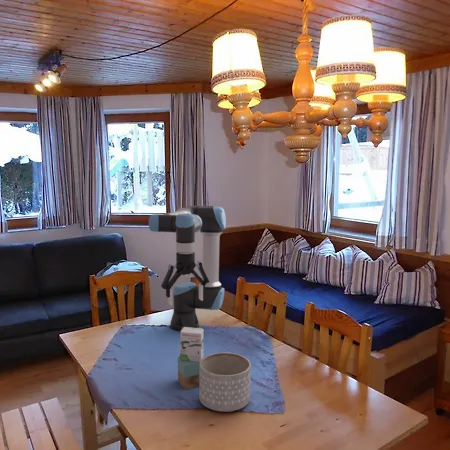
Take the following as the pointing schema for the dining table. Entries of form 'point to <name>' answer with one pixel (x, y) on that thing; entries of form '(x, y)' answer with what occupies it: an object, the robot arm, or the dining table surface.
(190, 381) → the tower bottom block
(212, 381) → the planter
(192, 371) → the tower top block
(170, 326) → the robot arm
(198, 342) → the ink box
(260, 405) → the dining table surface
